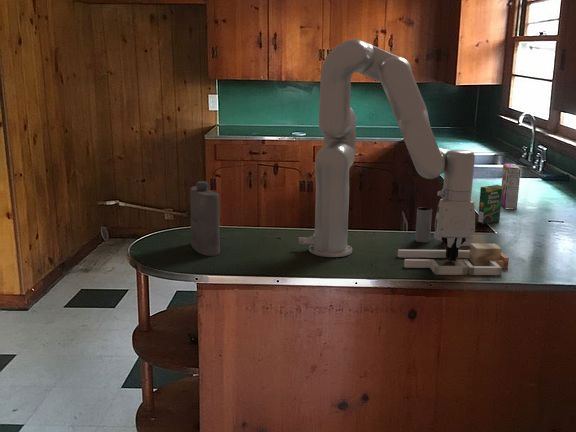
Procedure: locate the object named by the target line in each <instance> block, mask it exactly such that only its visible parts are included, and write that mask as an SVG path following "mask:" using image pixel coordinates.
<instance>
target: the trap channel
mask: <svg viewBox="0 0 576 432" xmlns="http://www.w3.org/2000/svg"><path fill="white" fill-rule="evenodd" d="M469 256H470V249H467V250H465V249H459V250H458V258H457V259H456V261H455V262H454V263H455V264H454V265H439V263H437V261H436V260H435V259H436V258H437V259H447V257H446V249H405V248H404V249H402V248H401V249H400V248H399V249H397V257H398V258H404V262H403V268H406V269H407V268H413V269H414V268H415V269H417V268H418V269H419V268H420V269H421V268H422V269H424V268H426V269H427V268H428V269H430V270H431V271H432V272H433V274H434V275H442V276H443V275H445V276H446V275H449V276H451V275H452V276H453V275H457V276H458V275H460V276H463V275H464V276H466V275H469V276H502V272H503V270H502V269H509V260H510V258H509V257H508V256H507V255H506V254H505V253H503V252H502V251H501V260H489V262H488V266H486V265H473V264H472V263H471V262H470V260H469ZM420 258H421V259H420ZM424 258H425V259H424ZM432 258H433V259H432Z"/></svg>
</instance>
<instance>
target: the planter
mask: <svg viewBox="0 0 576 432" xmlns="http://www.w3.org/2000/svg"><path fill="white" fill-rule="evenodd" d="M432 215H433V209H432V208H431V207H427V206H421V207H417V209H416V222H415V223H416V224H415V234H414V235H415V239H414V240H415V242H418V243H429V242H430V241H431V232H432V229H431V228H432V220H433V219H432V217H433V216H432Z"/></svg>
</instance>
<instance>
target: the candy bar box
mask: <svg viewBox="0 0 576 432" xmlns="http://www.w3.org/2000/svg"><path fill="white" fill-rule="evenodd" d="M521 170H522V168H520V167H519V166H518V165H517V164H516V163H503V164H502V173H501V185H500V186H502V196H501V204H502V205H503V206H502V205H501V206H502V207H503V208H513V209H512V210H518V199H519V189H520V181H521V180H520V179H521Z"/></svg>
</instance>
